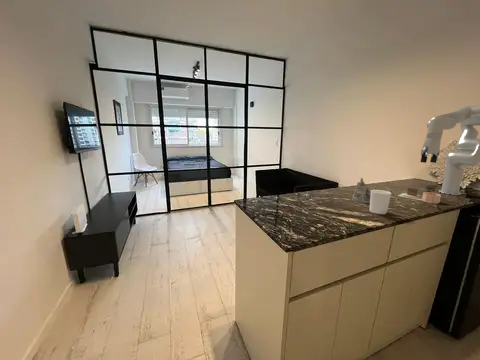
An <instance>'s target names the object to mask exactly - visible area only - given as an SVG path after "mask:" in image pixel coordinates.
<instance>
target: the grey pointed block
mask: <svg viewBox="0 0 480 360" xmlns="http://www.w3.org/2000/svg"><path fill="white" fill-rule="evenodd" d="M371 190H377V186H367V184H366V183H365V181H364V179H363V177H361V178H360V180H359V181H357V182H356V186H355V191H354V193H353V195H352V198H351V201H353V202H356V203H360V204H361V203H362V204H370V194H371Z"/></svg>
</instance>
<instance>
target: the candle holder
mask: <svg viewBox="0 0 480 360" xmlns="http://www.w3.org/2000/svg"><path fill="white" fill-rule="evenodd" d="M391 196H392V192H391V191H388V190H385V189H384V190H383V189H376V190H371V194H370V203H369V210H368V211H369V212H370V213H373V214H376V215H386V214H387V213H388V209H389V204H390V200H391Z"/></svg>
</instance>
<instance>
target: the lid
mask: <svg viewBox="0 0 480 360" xmlns="http://www.w3.org/2000/svg"><path fill="white" fill-rule="evenodd" d="M418 192H419V188H418V187H410V186H408V188H407V191H406V192H402V193H401V194H402V196H404V197H403V198H406V197H408V198H407V199H411V198H415V199H414V200H416V199H420V198H422V195H421V194H418Z"/></svg>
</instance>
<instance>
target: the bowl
mask: <svg viewBox="0 0 480 360" xmlns="http://www.w3.org/2000/svg"><path fill="white" fill-rule="evenodd" d="M421 196H422V200H421V201H422V202H424V203H426V204H428V203H429V204H435V205H436V204H440V202H441V198H442V194H440V193H437V192H430V191H429V192H428V191H427V192H426V191H424V192H422V195H421Z"/></svg>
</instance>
